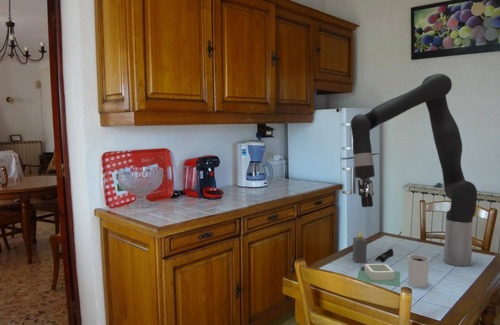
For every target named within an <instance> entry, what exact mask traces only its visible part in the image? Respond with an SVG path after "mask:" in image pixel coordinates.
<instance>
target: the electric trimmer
mask: <svg viewBox="0 0 500 325" xmlns="http://www.w3.org/2000/svg"><path fill="white" fill-rule="evenodd" d="M393 255H394V249H393V248H389V249H388V250H386V251H384V252H383V253H381V254H379V255H378V256H377V257H376V258H375V260H374V261H375V262H379V263H381V264H384V263H385V261H386V260H387V259H389V258H391V257H393Z"/></svg>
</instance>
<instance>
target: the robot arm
mask: <svg viewBox="0 0 500 325" xmlns="http://www.w3.org/2000/svg"><path fill="white" fill-rule="evenodd" d="M452 87H453V82H452V79H451V78H450V77H449V76H448V75H446V74H444V73H434V74H431V75H428V76H427V77H425V78H424V79H423V81H422V83H421V84H420V85H419V86H417V87H415V88H413V89H411V90H409V91H408V92H405V93H402V94H400V95H398V96H396V97H393V98H391V99H389V100H386V101H384V102H382V103H380V104H378V105H376V106H374V108H371V110H370V111H369V112H367V113H365V114H361V113H359V114H356V115H354V116H353V117H352V119H351V121H350V129H351V136H352V154H353V169H354V170H353V172H354V178H356V179H357V186H358V189H357V190H358V196H359V197H360V201H361V207H362V208H368V207H371V208H372V207H374V202H373V197H374V194H375V192H374V184H373V180H371V179H370V178H374V177H375V175H376V173H375V164H374V157H373V151H372V142H371V130H373V129H374V128H377V127H378V126H379V125H381V124H384V123H386V122H388V121H389V120H392V119H394V118H396V117H398V116H399V115H401V114H404V113H405V112H407V111H409V110H411V109H413V108H415V107H417V106H420V105H422V104H424V103H425V105H426V108H427V110H428V115H429V122H430V125H431V130H432V131H431V132H432V136H433V140H434V145H435V148H436V152H437V155H438V160H439V164H440V166H441V172H442V180H443V189H444V193H445V195H446V197H447V198H448V199H449V200H450V202H451V203H450V209H449V210H448V211H446V215H445V227H444V228H445V233H444V248H443V249H444V250H443V261H444V263H446V264H449V265H452V266H456V267H468V266H469V267H471V266H472V252H473V241H472V236H473V219H474V217H475V214H476V208H477V203H478V202H477V201H478V190H477V187H476V185H475V184H474V183H472V181H468V180H466V179H465V176H464V172H463V169H462V155H463V143H462V142H463V141H462V137H461V133H460V130H459V126H458V125H457V122H456V120H455V118H454V117H453V115H452V113H451V111H450V108H449V106H448V105H449V104H448V101H447V95H448V94H449V92H450V91H451V90H452Z"/></svg>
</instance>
